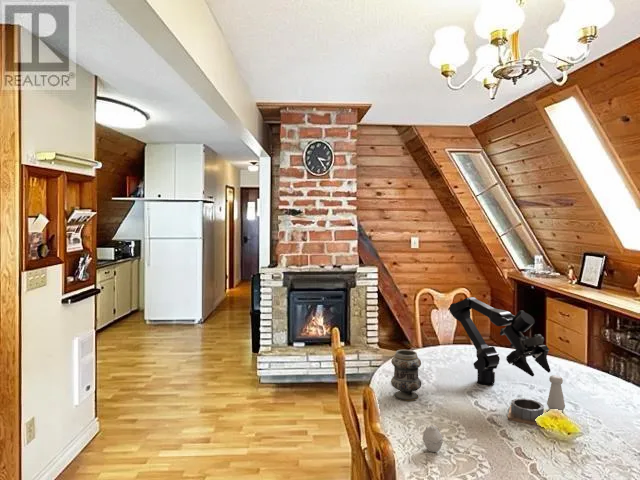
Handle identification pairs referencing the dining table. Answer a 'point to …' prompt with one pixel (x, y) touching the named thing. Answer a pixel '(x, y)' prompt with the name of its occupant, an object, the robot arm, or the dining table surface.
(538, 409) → the cup holder
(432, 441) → the grey cracked egg
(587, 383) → the dining table surface
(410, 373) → the apothecary jar
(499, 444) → the dining table surface
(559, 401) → the salt shaker
